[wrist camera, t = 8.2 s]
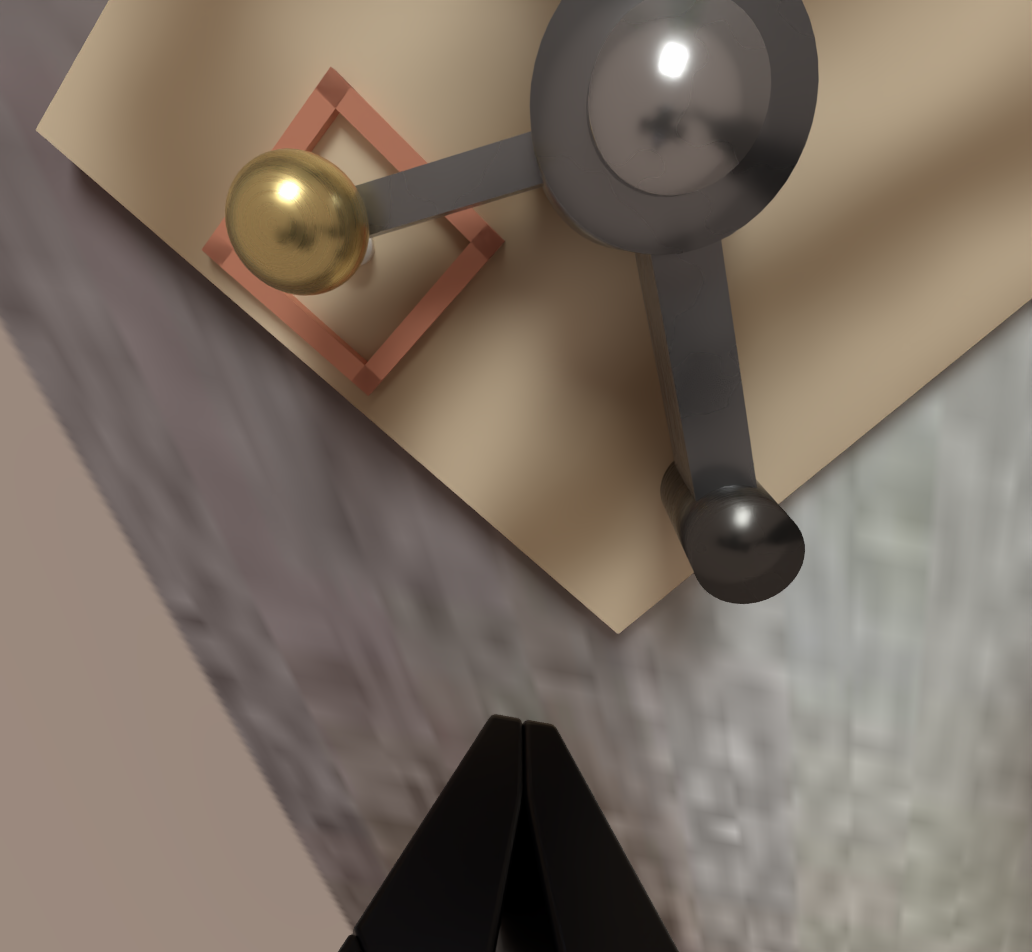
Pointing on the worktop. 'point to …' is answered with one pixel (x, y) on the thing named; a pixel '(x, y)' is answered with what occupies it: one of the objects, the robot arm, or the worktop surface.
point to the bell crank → (612, 221)
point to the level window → (484, 242)
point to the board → (592, 244)
